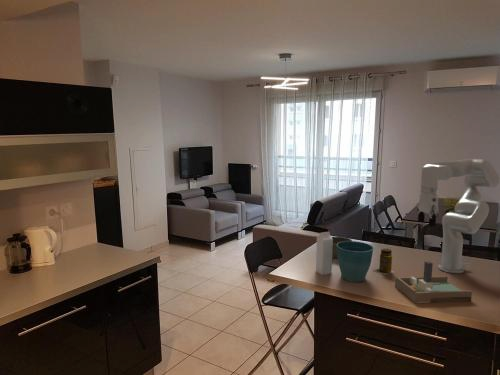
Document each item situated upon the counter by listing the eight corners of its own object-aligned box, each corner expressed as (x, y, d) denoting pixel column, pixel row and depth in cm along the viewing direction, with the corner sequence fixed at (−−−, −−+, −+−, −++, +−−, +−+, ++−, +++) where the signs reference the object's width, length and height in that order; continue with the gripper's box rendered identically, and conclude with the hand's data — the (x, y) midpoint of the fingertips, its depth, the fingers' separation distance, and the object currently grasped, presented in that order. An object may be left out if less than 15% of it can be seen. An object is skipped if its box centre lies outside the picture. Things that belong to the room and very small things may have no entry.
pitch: (445, 284, 177) (446, 275, 177) (471, 300, 159) (472, 290, 159) (394, 286, 175) (395, 276, 174) (414, 303, 157) (415, 292, 156)
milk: (331, 273, 192) (333, 233, 189) (322, 275, 189) (323, 234, 186) (324, 269, 197) (326, 230, 194) (315, 271, 195) (317, 231, 192)
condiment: (394, 272, 194) (395, 250, 193) (384, 275, 190) (386, 253, 188) (383, 268, 200) (384, 247, 199) (373, 271, 196) (374, 249, 194)
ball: (407, 291, 168) (414, 291, 168) (411, 294, 164) (418, 294, 165) (407, 284, 167) (414, 284, 168) (411, 287, 164) (419, 287, 164)
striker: (436, 286, 170) (437, 260, 168) (442, 290, 165) (444, 264, 163) (417, 286, 169) (419, 260, 167) (423, 291, 164) (425, 264, 162)
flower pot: (379, 282, 179) (381, 249, 177) (347, 286, 174) (349, 252, 172) (358, 270, 196) (360, 239, 194) (329, 273, 191) (330, 242, 189)
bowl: (318, 256, 219) (319, 240, 218) (330, 249, 233) (330, 234, 232) (346, 262, 209) (347, 245, 208) (356, 254, 224) (357, 238, 222)
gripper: (446, 192, 172) (443, 227, 175) (426, 188, 190) (423, 220, 192) (431, 193, 172) (429, 228, 174) (412, 188, 189) (410, 220, 191)
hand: (426, 223), depth 183 cm, fingers open, 9 cm apart
